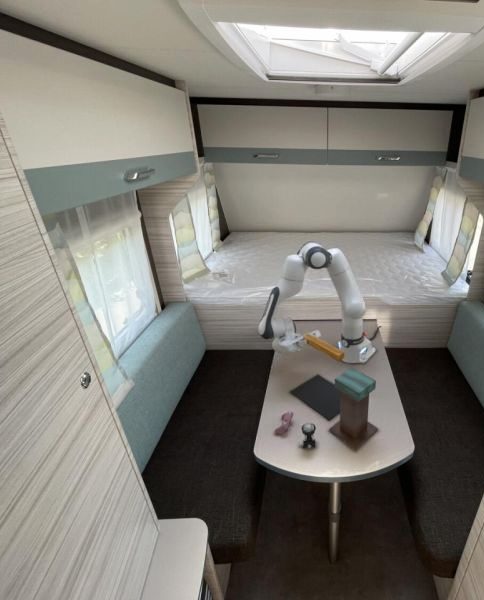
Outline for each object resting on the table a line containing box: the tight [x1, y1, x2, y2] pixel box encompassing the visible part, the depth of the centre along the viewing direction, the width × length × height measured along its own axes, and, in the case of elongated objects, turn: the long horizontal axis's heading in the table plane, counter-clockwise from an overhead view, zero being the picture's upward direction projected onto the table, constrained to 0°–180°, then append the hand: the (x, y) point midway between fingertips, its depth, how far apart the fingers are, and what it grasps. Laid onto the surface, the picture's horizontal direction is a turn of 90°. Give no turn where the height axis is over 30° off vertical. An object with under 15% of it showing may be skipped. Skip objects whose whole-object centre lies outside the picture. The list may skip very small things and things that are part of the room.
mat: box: [290, 374, 340, 421], centre depth 153 cm, size 18×26×1 cm
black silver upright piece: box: [298, 422, 317, 449], centre depth 125 cm, size 7×5×10 cm
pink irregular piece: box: [274, 410, 295, 435], centre depth 134 cm, size 10×5×7 cm, turn 168°
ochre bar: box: [303, 334, 345, 362], centre depth 141 cm, size 4×22×3 cm, turn 46°
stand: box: [329, 366, 378, 452], centre depth 128 cm, size 14×14×26 cm
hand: (310, 339), depth 146 cm, fingers closed on ochre bar, 3 cm apart
